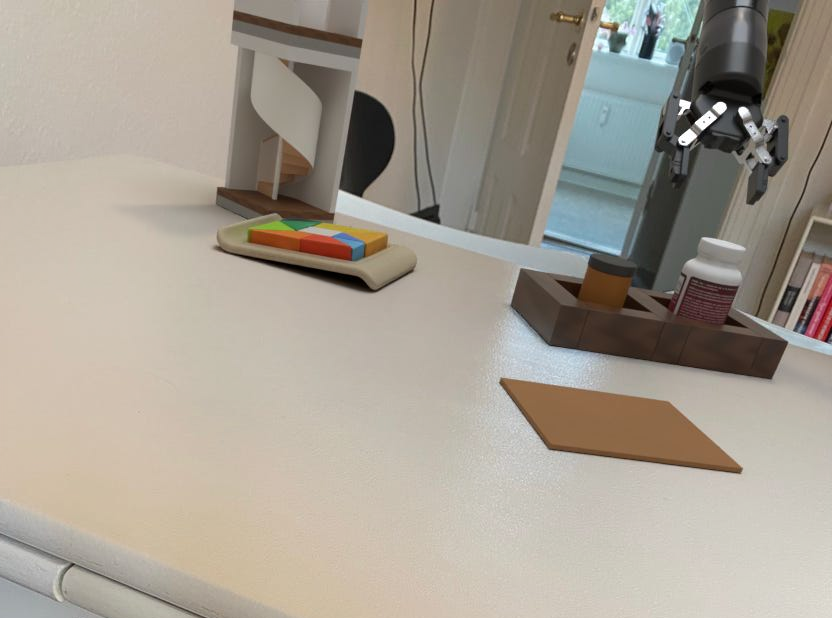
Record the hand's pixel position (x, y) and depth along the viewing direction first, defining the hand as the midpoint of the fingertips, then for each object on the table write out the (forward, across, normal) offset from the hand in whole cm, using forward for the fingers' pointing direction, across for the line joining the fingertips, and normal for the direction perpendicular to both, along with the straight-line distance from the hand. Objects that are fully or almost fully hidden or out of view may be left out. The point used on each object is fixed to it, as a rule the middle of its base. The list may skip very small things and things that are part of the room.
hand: (716, 192), depth 99 cm
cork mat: (+39, +14, +18) cm, 45 cm away
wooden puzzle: (+12, +42, -9) cm, 44 cm away
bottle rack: (+17, +6, -4) cm, 19 cm away
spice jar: (+18, +11, -3) cm, 21 cm away
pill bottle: (+17, 0, -4) cm, 17 cm away
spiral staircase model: (-1, +49, -22) cm, 54 cm away
